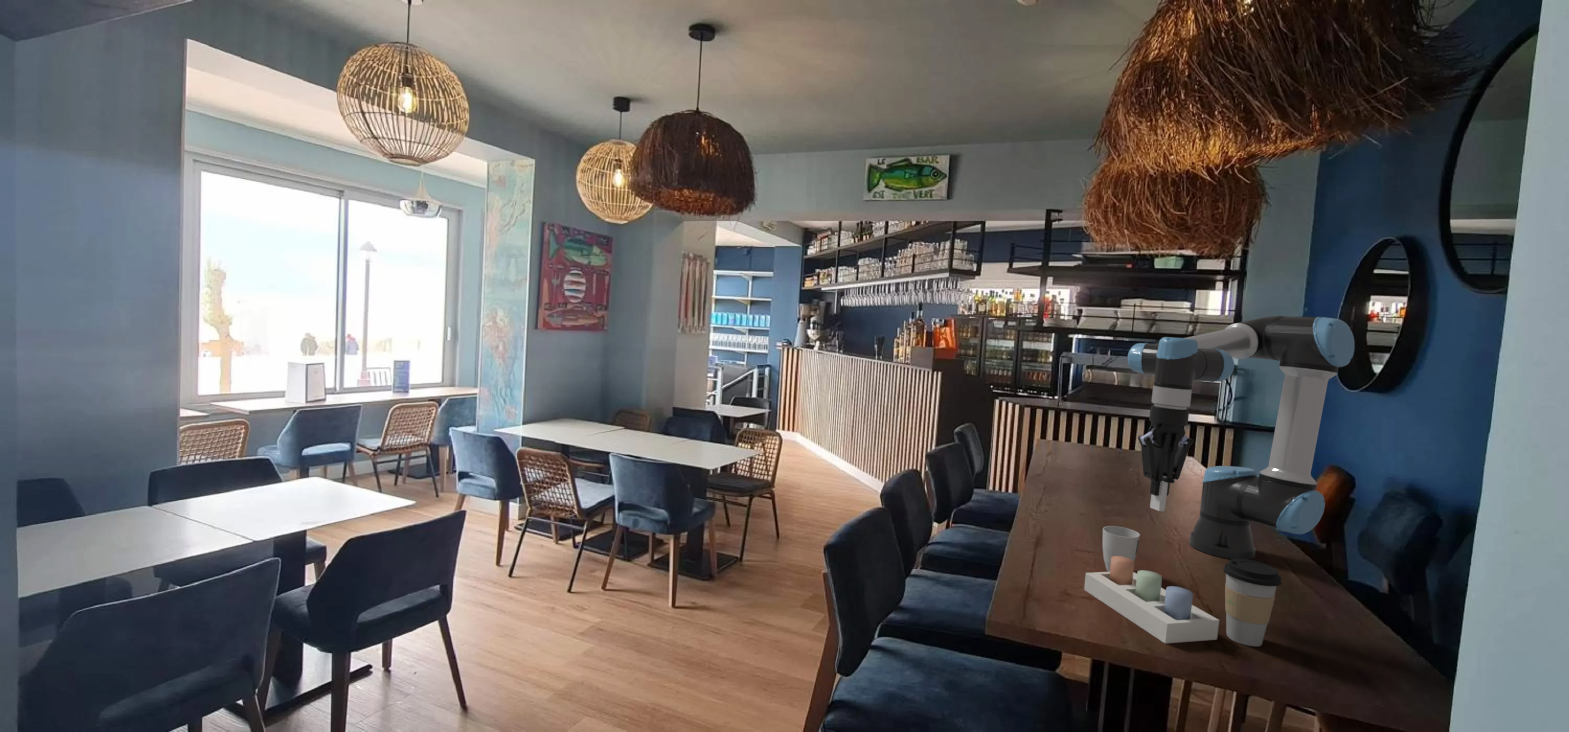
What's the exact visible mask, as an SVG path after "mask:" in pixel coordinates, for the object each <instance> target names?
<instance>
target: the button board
mask: <svg viewBox="0 0 1569 732" xmlns="http://www.w3.org/2000/svg"><path fill="white" fill-rule="evenodd" d="M1109 577H1110V572H1109V571H1099V572H1098V571H1097V572H1095V571H1094V572H1085V577H1084V586H1083V587H1084V588H1083V590H1084V591H1086V593H1088V594H1090V595H1091V596H1093V597H1094V598H1096V599H1097V600H1099V601H1101V602H1102V603H1104V604H1105V605H1106V606H1108V607H1109V608H1111V609H1113V610H1114V611H1115V612H1117V613H1119V614H1120V615H1122V616H1123V617H1125V618H1126V619H1128V620H1129V621H1131V622H1132V623H1134V624H1135V625H1137V626H1138V627H1140V628H1141V629H1142V630H1144V631H1145V632H1147V633H1149V634H1150V635H1151V636H1153V637H1155V638H1156V639H1158V640H1159V641H1160V642H1162V643H1164V644H1175V643H1188V642H1202V641H1204V642H1205V641H1214V640H1215V641H1216V640H1218V635H1219V627H1220V626H1219V624H1220V619H1218V618H1216V617H1215V616H1213V615H1211V614H1209V613H1207V612H1206V611H1204V610H1202V609H1200V608H1199V607H1197V606H1195V605H1193V604H1192V608H1191V617H1190V619H1189V620H1176V619H1173V618H1172V617H1170V616H1168V615H1167V614H1165V613H1164V605H1165V596H1166V589H1164V588H1163V587H1161V592H1160V601H1152V602H1147V601H1144V600H1142V599H1140V598H1139V597H1137V596H1135V590H1136V580H1137V573H1136V572H1135V571H1133V581H1132V585H1118V584H1116V583H1114V582H1112V581H1111V580H1109Z"/></svg>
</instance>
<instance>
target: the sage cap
mask: <svg viewBox="0 0 1569 732" xmlns="http://www.w3.org/2000/svg"><path fill="white" fill-rule="evenodd" d="M1136 574H1137V580H1136V590H1135V596H1137V597H1139V598H1140V599H1142V600H1144V601H1147V602H1152V601H1160V592H1161V588H1162V583H1163V582H1162V581H1163V576H1162V575H1161V574H1159V573H1157V572H1154V571H1151V570H1145V569H1144V570H1142V569H1140V570H1138V571H1137V573H1136Z"/></svg>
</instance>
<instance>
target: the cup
mask: <svg viewBox="0 0 1569 732" xmlns="http://www.w3.org/2000/svg"><path fill="white" fill-rule="evenodd" d="M1140 536H1141V534H1140V533H1139V532H1138V531H1136V530H1133V529H1130V528H1128V527H1124V526H1116V525H1108V526H1107V525H1106V526H1104V527H1103V528H1102V554H1103V555H1102V556H1103V562H1104V565H1105V569H1106V572H1110V567H1111V557H1113V556H1121V557H1126V558H1129V559H1131V560H1133V561H1134V562H1135V560H1136V556H1137V554H1138V549H1139V541H1140Z"/></svg>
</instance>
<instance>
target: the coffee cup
mask: <svg viewBox="0 0 1569 732" xmlns="http://www.w3.org/2000/svg"><path fill="white" fill-rule="evenodd" d="M1222 571H1223V572H1224V573H1225V583H1224V586H1225V587H1224V589H1225V590H1224V594H1225V595H1224V598H1225V601H1224V604H1225V605H1224V606H1225V608H1224V610H1225V613H1226V614H1225V615H1226V617H1225V619H1226V620H1225V621H1226V622H1225V623H1226V627H1225V628H1226V632H1225V633H1226V636H1227V638H1229V639H1230V640H1231V641H1233V642H1235V643H1237V644H1240V645H1243V646H1244V645H1245V646H1248V647H1261V646H1262V645H1263V641H1264V638H1265V634H1266V629H1267V626H1268V624H1269V623H1270V619H1271V615H1272V614H1271V613H1272V610H1273V607H1274V603H1275V599H1276V590H1277V587H1278V586H1281V585H1282V583H1283V582H1282V577H1281V576H1280V575H1279V571H1278V569H1276V568H1275V567H1274V566H1272V565H1269V564H1266V563H1264V562H1261V561H1257V560H1254V559H1253V560H1252V559H1229V560H1228V563H1226V564H1225V565H1224V567H1223V570H1222Z"/></svg>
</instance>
